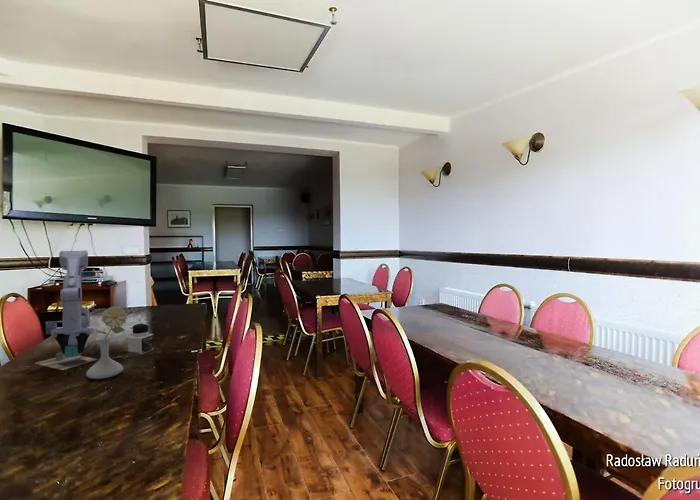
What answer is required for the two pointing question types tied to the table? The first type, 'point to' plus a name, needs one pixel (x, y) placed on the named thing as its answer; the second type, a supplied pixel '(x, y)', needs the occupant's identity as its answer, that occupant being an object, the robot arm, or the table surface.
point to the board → (65, 361)
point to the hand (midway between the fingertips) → (73, 352)
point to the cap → (72, 350)
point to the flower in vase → (106, 364)
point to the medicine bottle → (140, 339)
